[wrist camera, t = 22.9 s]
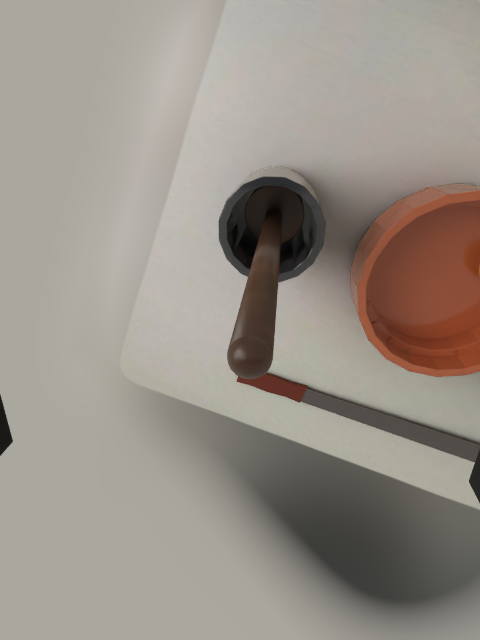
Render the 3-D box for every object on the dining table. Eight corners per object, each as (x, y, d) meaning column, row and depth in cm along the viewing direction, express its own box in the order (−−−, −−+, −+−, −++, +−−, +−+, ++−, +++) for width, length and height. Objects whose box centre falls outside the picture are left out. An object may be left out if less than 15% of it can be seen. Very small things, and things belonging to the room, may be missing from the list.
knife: (502, 468, 52) (505, 472, 52) (236, 380, 51) (236, 383, 50) (515, 453, 51) (517, 457, 51) (243, 363, 50) (242, 365, 49)
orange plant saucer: (314, 266, 44) (318, 285, 39) (466, 141, 38) (495, 142, 33) (414, 375, 48) (429, 406, 43) (565, 278, 42) (606, 300, 37)
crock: (216, 208, 43) (197, 229, 34) (278, 146, 40) (274, 151, 31) (271, 266, 45) (267, 301, 36) (334, 212, 42) (347, 235, 33)
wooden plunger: (235, 202, 41) (132, 343, 14) (283, 168, 40) (272, 255, 12) (266, 249, 43) (228, 456, 16) (314, 218, 41) (364, 392, 14)
